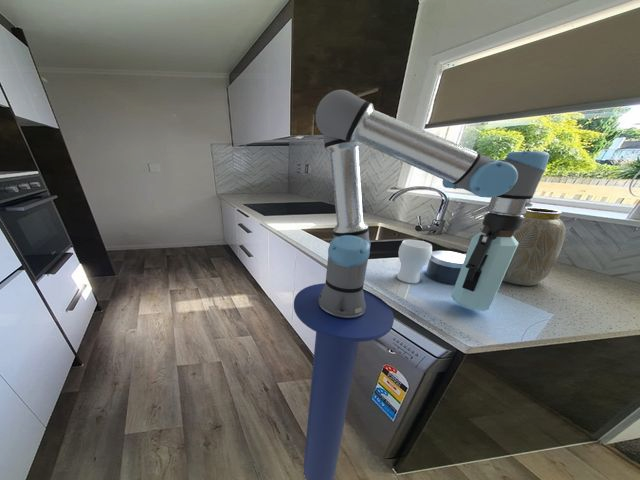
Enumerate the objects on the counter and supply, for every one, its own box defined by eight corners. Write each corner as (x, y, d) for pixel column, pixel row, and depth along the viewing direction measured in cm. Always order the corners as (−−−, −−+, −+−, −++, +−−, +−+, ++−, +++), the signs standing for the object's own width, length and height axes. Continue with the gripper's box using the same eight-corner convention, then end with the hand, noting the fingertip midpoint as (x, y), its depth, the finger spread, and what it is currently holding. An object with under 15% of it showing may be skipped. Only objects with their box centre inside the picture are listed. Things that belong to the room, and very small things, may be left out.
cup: (387, 275, 100) (394, 240, 94) (406, 271, 103) (415, 237, 97) (409, 287, 91) (418, 250, 85) (430, 282, 94) (441, 246, 88)
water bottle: (495, 316, 70) (532, 234, 61) (452, 307, 75) (481, 229, 65) (485, 300, 78) (517, 225, 69) (447, 292, 83) (472, 221, 73)
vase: (550, 280, 93) (585, 211, 83) (535, 293, 85) (572, 218, 75) (492, 265, 107) (516, 203, 97) (475, 274, 99) (499, 209, 89)
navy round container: (418, 274, 100) (423, 254, 97) (436, 267, 106) (442, 248, 102) (453, 288, 89) (461, 266, 86) (471, 280, 95) (479, 258, 91)
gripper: (504, 221, 58) (472, 300, 66) (541, 211, 67) (509, 282, 76) (467, 214, 64) (442, 288, 73) (506, 206, 73) (480, 272, 82)
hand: (476, 285), depth 74 cm, fingers closed on water bottle, 10 cm apart
